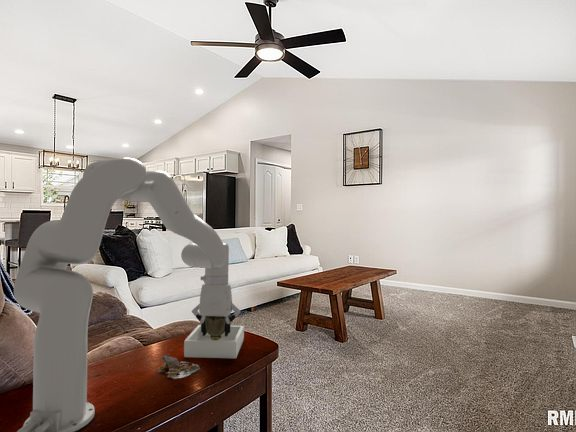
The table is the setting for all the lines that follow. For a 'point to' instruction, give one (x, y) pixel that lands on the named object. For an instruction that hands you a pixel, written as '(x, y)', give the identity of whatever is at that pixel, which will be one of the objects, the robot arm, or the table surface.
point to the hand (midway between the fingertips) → (215, 334)
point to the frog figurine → (177, 367)
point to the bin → (214, 344)
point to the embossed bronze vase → (215, 326)
